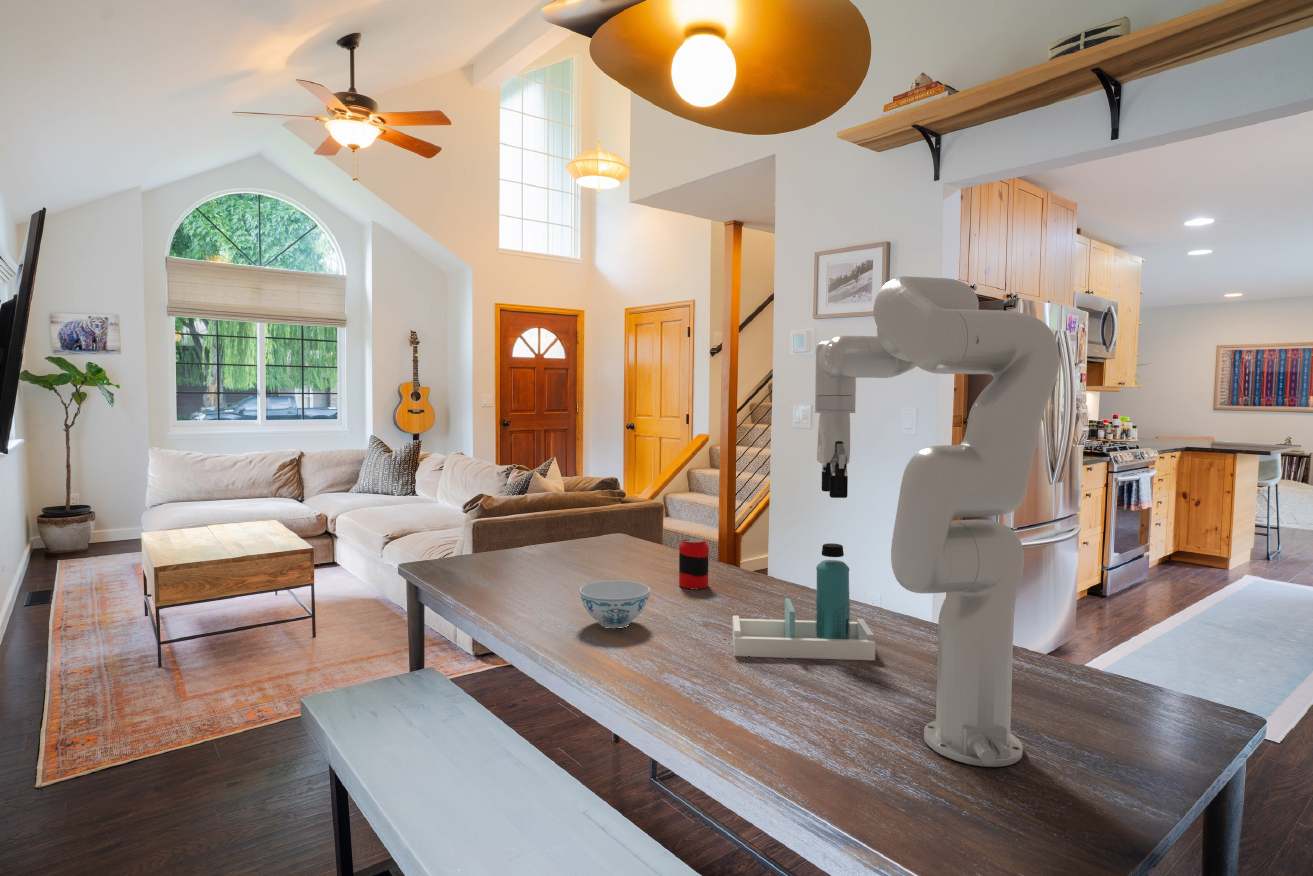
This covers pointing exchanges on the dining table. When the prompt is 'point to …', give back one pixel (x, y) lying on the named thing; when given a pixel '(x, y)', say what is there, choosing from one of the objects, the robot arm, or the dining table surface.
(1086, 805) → the dining table surface
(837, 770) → the dining table surface
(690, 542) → the soda can
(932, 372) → the robot arm
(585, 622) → the dining table surface
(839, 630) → the beverage bottle
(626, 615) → the chinaware
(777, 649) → the white divided tray
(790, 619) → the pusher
